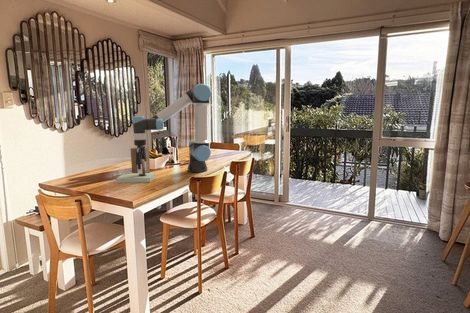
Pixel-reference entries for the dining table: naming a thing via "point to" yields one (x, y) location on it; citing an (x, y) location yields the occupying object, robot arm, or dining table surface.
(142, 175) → the walnut peg
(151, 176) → the board
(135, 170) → the wooden block
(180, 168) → the dining table surface
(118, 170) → the dining table surface
